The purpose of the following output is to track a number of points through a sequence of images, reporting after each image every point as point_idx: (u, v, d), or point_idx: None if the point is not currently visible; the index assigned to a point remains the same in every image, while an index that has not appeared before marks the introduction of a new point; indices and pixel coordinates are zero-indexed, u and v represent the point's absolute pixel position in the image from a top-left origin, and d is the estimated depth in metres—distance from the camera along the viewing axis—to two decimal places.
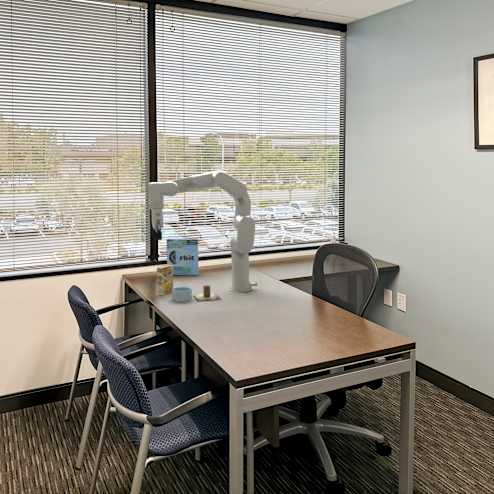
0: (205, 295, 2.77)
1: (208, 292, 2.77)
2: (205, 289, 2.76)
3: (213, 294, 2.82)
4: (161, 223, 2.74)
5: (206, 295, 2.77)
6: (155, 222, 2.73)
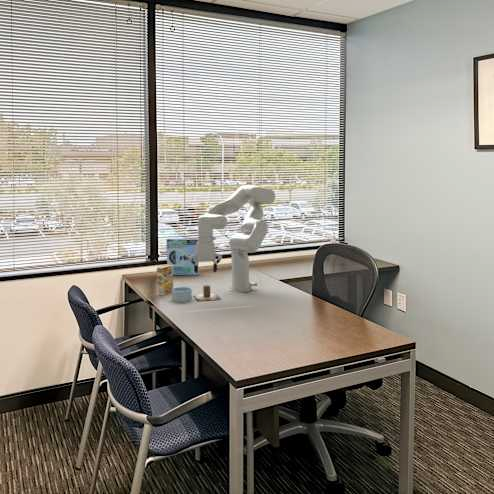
0: (205, 295, 2.77)
1: (208, 292, 2.77)
2: (205, 289, 2.76)
3: (213, 294, 2.82)
4: None
5: (206, 295, 2.77)
6: (215, 255, 2.75)
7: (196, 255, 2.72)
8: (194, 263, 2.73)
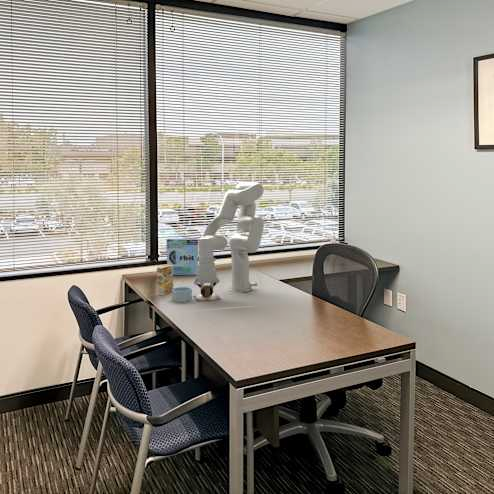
0: (205, 295, 2.77)
1: (208, 292, 2.77)
2: (205, 289, 2.76)
3: (213, 294, 2.82)
4: None
5: (206, 295, 2.77)
6: None
7: (198, 280, 2.74)
8: (200, 287, 2.76)
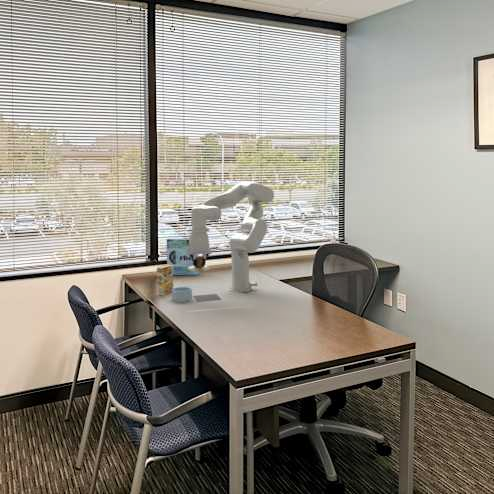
0: (197, 266, 2.73)
1: (200, 263, 2.73)
2: (197, 260, 2.73)
3: (205, 266, 2.79)
4: None
5: (198, 266, 2.73)
6: (208, 249, 2.74)
7: (190, 250, 2.71)
8: (192, 257, 2.72)
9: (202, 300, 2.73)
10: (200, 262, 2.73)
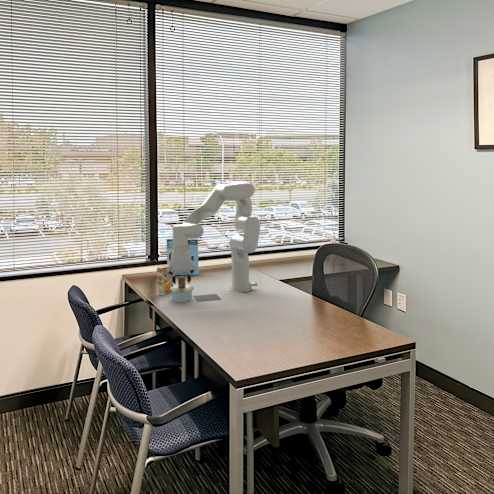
0: (180, 286, 2.73)
1: (183, 283, 2.73)
2: (180, 280, 2.73)
3: (188, 285, 2.79)
4: None
5: (181, 286, 2.73)
6: (191, 265, 2.73)
7: (171, 266, 2.70)
8: (172, 274, 2.72)
9: (202, 300, 2.73)
10: (182, 282, 2.73)
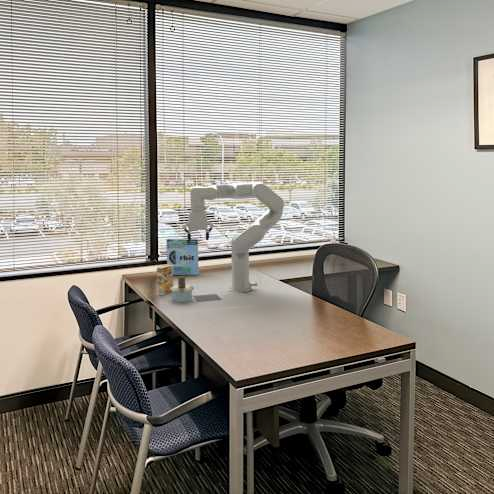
0: (180, 286, 2.73)
1: (183, 283, 2.73)
2: (180, 280, 2.73)
3: (188, 285, 2.79)
4: None
5: (181, 286, 2.73)
6: None
7: (189, 224, 2.88)
8: (187, 231, 2.89)
9: (202, 300, 2.73)
10: (182, 282, 2.73)
